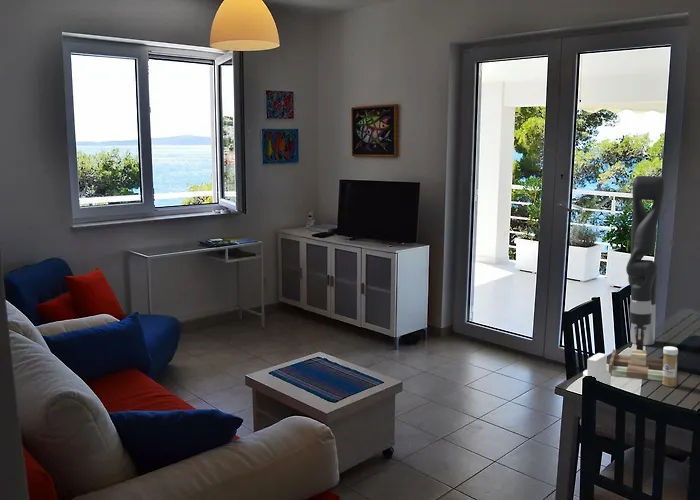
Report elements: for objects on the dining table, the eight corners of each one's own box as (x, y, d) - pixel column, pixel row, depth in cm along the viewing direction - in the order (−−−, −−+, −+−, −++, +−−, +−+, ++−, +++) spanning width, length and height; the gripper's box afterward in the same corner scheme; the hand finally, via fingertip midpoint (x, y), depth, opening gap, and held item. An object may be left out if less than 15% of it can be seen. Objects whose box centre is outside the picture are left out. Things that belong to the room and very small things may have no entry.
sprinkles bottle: (660, 385, 217) (661, 348, 215) (664, 381, 221) (665, 345, 219) (675, 388, 214) (676, 350, 212) (678, 384, 218) (679, 347, 216)
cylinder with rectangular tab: (589, 383, 223) (590, 351, 221) (615, 389, 216) (615, 356, 214) (578, 390, 216) (578, 357, 215) (603, 396, 210) (604, 362, 208)
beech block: (632, 359, 239) (632, 349, 239) (646, 360, 237) (646, 350, 236) (631, 364, 234) (631, 353, 233) (645, 365, 232) (646, 355, 231)
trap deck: (613, 359, 246) (613, 349, 246) (666, 364, 237) (667, 354, 237) (608, 374, 230) (608, 364, 229) (666, 381, 221) (666, 370, 220)
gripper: (650, 315, 231) (649, 360, 234) (652, 307, 243) (650, 350, 245) (628, 314, 234) (627, 358, 237) (631, 306, 246) (630, 348, 249)
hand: (639, 354), depth 241 cm, fingers closed
